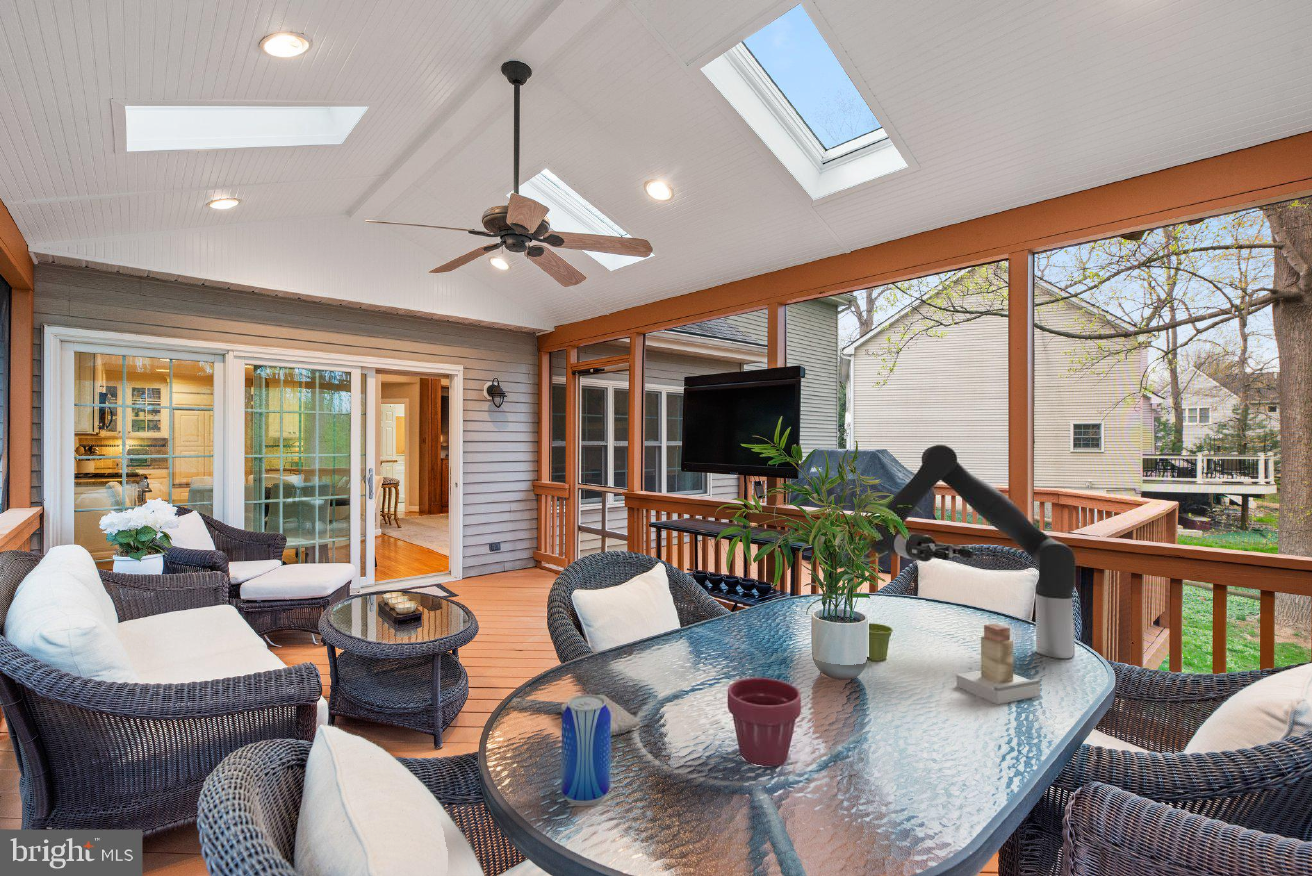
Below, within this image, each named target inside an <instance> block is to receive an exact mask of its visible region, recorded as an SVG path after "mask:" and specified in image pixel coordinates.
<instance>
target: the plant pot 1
mask: <svg viewBox="0 0 1312 876" xmlns="http://www.w3.org/2000/svg"><path fill="white" fill-rule="evenodd" d="M801 709H802V695H801V692H800V690H799V689H798V688H797V687H796V686H795V685H792V684H791V683H789V682H786V681H782V680H779V679H775V678H768V677H748V678H747V677H746V678H742V679H741V678H740V679H738V680H736V681H734V682H732V683H731V684H730V685H729V686H728V687H727V710H728V712H729V713H730V714H731V715H732V721H733V725H734V730H735V735H736V739H737V740H736V741H737V745H738V749H739V754H740V755H739V756H740V757H741V756H742V757H743V758H744V759H745V760H746V761H748V762H750V763H753V764H756V765H762V766H776V767H778V766H777V765H779V766H781V764H782V765H783V764H785V763H786V762H787V759H788V756H789V751H790V747H791V743H792V739H793V735H794V731H795V725H796V720H797V719H798V718H799V717H800V715H801V713H802V712H801V711H802V710H801ZM742 757H741V758H742ZM746 761H745V762H746ZM785 761H786V762H785ZM784 762H785V763H784Z"/></svg>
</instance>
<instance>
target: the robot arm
mask: <svg viewBox="0 0 1312 876" xmlns="http://www.w3.org/2000/svg"><path fill="white" fill-rule="evenodd" d="M940 481H941V482H943V483H944V484H946V486H948V487H949V488H950V489H951V490H953V491H954V492H955V493H956V494H957V495H958V496H959V497H960V498H961V500H963V501H964V502H965V503H966V504H967V505H968V506H969V507H970V508H971V509H973V510H974V511H975V512H976V513H977V515H979V516H980V517H982V519H984V520H985V521H987V523H989V524H990V525H991V526H993V527H994V528H995V529H997V530H998V531H999V532H1001V533H1002V534H1004V535H1005V536H1007V537H1008V538H1010V539H1011V540H1012V541H1014V542H1015V543H1016V544H1017V545H1018V546H1019V547H1020V548H1021V549H1023V551H1024V552H1025V553H1026V554H1027V555H1028V556H1029V557H1030V558H1031V559H1032V560H1033V561H1034V562H1035V564H1036V565H1037V566H1038V582H1037V583H1036V584H1035V651H1036V653H1038V654H1040V655H1042V656H1045V657H1050V658H1056V659H1071V658H1073V656H1075V655H1076V653H1075V652H1076V651H1075V648H1076V646H1075V642H1076V641H1075V638H1076V635H1075V632H1076V631H1075V622H1074V621H1073V620H1074V619H1073V617H1074V616H1073V608H1074V607H1073V591H1074V590H1075V587H1076V586H1075V585H1076V556H1075V553H1074V551H1073V550H1072V548H1071V547H1069V546H1068V545H1067V544H1065V543H1063V542H1060V541H1058V540H1055V539H1054V538H1052V537H1050V536H1049V535H1048V534H1046V533H1045V532H1044V531H1043V530H1041V529H1040V528H1038V527H1037V526H1035V525H1034V524H1033V523H1032V522H1031V520H1029V519H1028V517H1027V516H1026V515H1025V514H1024V513H1023V511H1022V510H1021V509H1020V508H1019V507H1018V506H1017V505H1016V504H1015V503H1014V502H1013V500H1011V499H1010V498H1009V497H1007V496H1006V495H1005V494H1004V493H1002V492H1001V491H1000V490H998V489H997V488H996V487H994V486H993V485H992V484H991V483H988V482H987V481H985V480H984V479H981V478H980V477H977V476H976V475H974V474H973V473H971V472H970V471H968V469H966V467H964V466H963V465H962V464H961V463H960V462H959V461H958V455H957V453H956V451H955V450H954V449H953V448H952V447H951V446H949V445H946V444H936V445H932V446H930V447H928V448H926V449H925V450H924V451H923V452H922V454H921V465H920V467H919V469H918V470H917V472H915V474H914V475H913V477H912V478H911V479H910V480H909V482H907V483H906V485H905V486H904V487H903V488H901V490H900V491H898V492H897V493H896V494H895V496H893V498H894V500H892V499H891V500H892V501H891V500H890V502H888V504H886V506H885V508H886V507H887V508H888V509H890V510H892V511H893V512H894V513H895V514H897V516H898V517H900V519H901V520H902V523H903V524H904V523H905V522H906V521H907V520H908V518H909V517H910V516H911V515H912V513H913V512H914V511H915V509H916V508H917V507H918V505H919V504H920V503H921V502H922V500H923V499H924V498H925V497H926V495H927V494H928V493H929V492H930V491H931V490H932V489H933V488H934V487H935V485H937V484H938V483H939V482H940ZM898 505H911V506H912V507H909V506H903V507H897V506H898ZM875 528H876V530H878V532H879V533H880V534H881V536H882V537H883V539H882V540H878V541H875V542H874V543H873V544H872V546H871V548H869V550H871V551H873V552H874V553H875V554H877V555H882V554H885V553H889V554H892V555H897V556H900V557H903V558H906V559H909V560H915V561H918V562H923V563H926V562H930V561H931V560H932V559H933V560H935V559H939V560H943V561H948V560H950V558H953V557H959V558H961V557H962V558H966V559H967V558H968V559H973V558H974V550H973V549H970V548H969V549H968V548H966V546H964V545H958V544H957V545H956V544H951V543H942V542H936V541H935V539H934V538H933V537H932V536H930V535H928V534H927V535H926V534H921V533H915V532H910V531H909V532H907V533H908V537H909V540H908V538H906V539H904V538H903V537H902V535H901V532H902V531H900V530H897V531H896V533H895V535H893V534H892V532H890V530H889V529H888V526H887V525H885V524H884V526H882V525H880V524H877V525H876V526H875Z"/></svg>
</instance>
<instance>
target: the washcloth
mask: <svg viewBox="0 0 1312 876" xmlns="http://www.w3.org/2000/svg"><path fill="white" fill-rule="evenodd" d="M597 696H600V697H602V698H604V699H605V701H606V703H605V704H606V706H607V708H608V709H609V711H610V714H611V734H613V733H618V732H620V731H624V730H629V729H631V728H636V727H637V726H640V727H641V724H640V721H639V719H638V718H636V717H635V716H634V715H632V714H631V713H629V712H628V711H626V710H625V709H624V708H623V707H621V706H620V705H618V704H617V703H616V702H613V700H611V699H610V698H608V697H607V696H606V695H605V694H597ZM566 707H567V702H565V703H562V704H561V708H560V709H559V711H560V710H561V711H562V712H564V711H565V709H566Z"/></svg>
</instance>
